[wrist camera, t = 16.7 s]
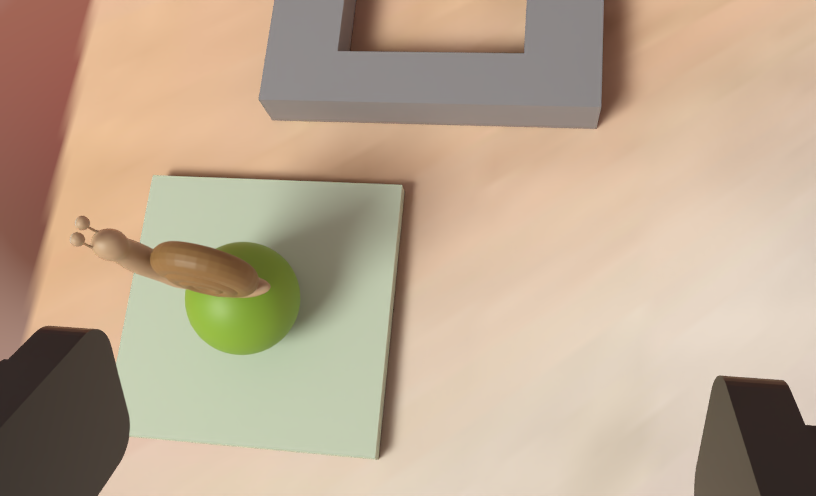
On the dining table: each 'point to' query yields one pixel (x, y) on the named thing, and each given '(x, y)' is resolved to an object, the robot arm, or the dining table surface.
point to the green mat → (302, 346)
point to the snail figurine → (214, 285)
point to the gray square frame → (435, 72)
